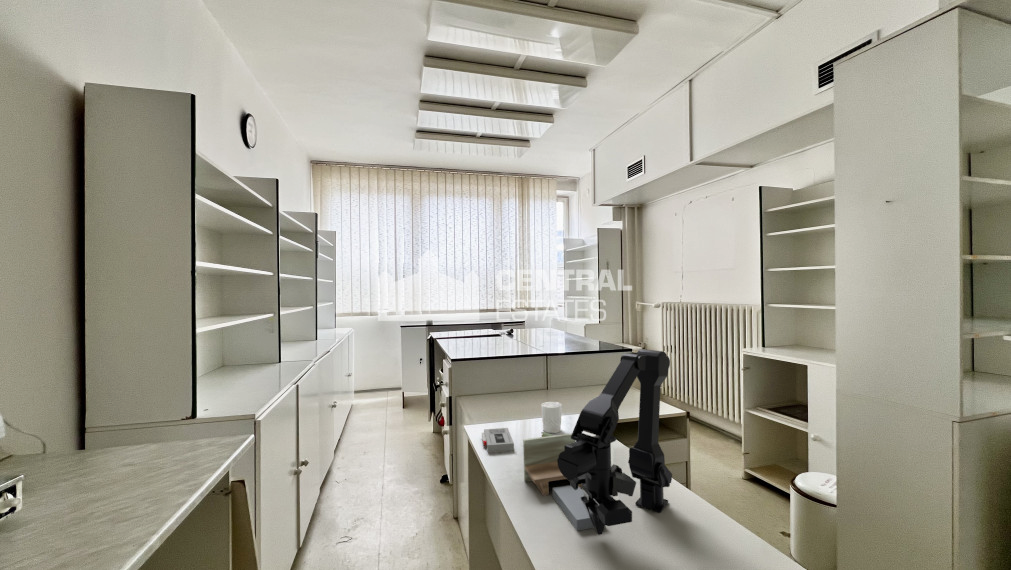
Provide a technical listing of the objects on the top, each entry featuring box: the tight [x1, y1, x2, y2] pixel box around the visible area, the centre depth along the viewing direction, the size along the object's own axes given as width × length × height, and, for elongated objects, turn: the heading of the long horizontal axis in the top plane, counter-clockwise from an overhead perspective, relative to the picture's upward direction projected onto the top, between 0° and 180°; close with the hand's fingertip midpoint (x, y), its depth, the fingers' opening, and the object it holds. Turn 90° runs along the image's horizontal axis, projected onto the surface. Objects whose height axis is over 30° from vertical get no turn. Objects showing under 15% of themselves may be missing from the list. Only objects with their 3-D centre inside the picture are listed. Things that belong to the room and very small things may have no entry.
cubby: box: [522, 432, 582, 496], centre depth 121 cm, size 10×16×12 cm, turn 104°
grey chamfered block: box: [552, 484, 595, 531], centre depth 107 cm, size 16×7×2 cm, turn 14°
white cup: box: [541, 401, 563, 434], centre depth 165 cm, size 8×8×10 cm
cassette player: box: [481, 427, 515, 454], centre depth 153 cm, size 16×3×10 cm
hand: (599, 533), depth 95 cm, fingers closed
